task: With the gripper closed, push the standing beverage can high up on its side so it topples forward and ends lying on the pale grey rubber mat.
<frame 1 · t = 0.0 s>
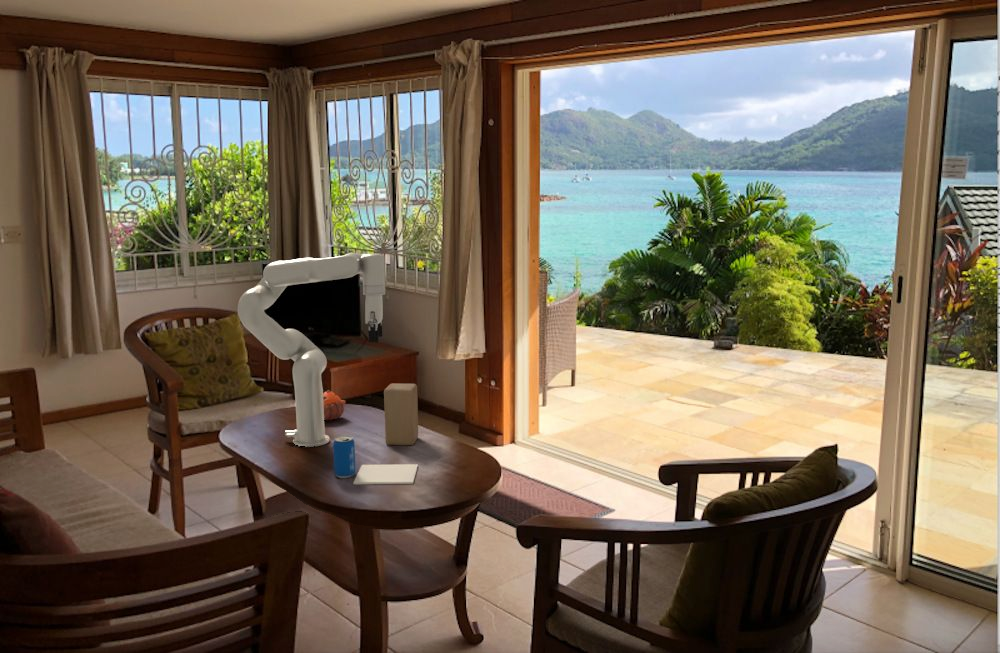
hand: (375, 339, 288), 37 cm above the table, tool pointing down, fingers open, 9 cm apart
beverage can: (345, 475, 261), on the table
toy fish: (330, 420, 322), on the table
wooden block: (402, 442, 294), on the table
mat: (386, 474, 261), on the table
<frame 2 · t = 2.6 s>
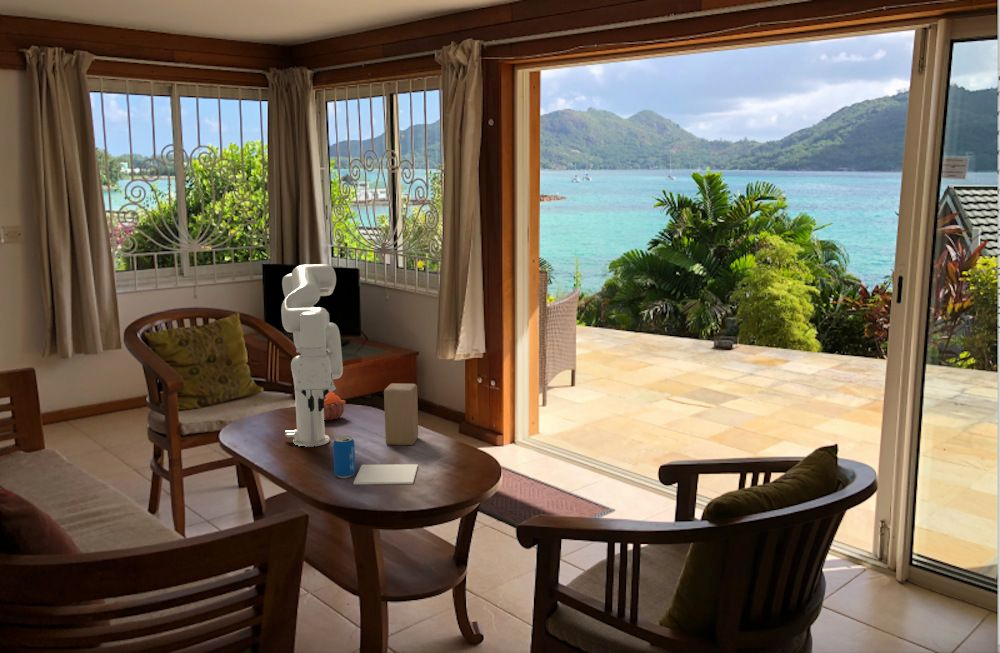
hand: (316, 409, 257), 21 cm above the table, tool pointing down, fingers closed
nothing on the table moved.
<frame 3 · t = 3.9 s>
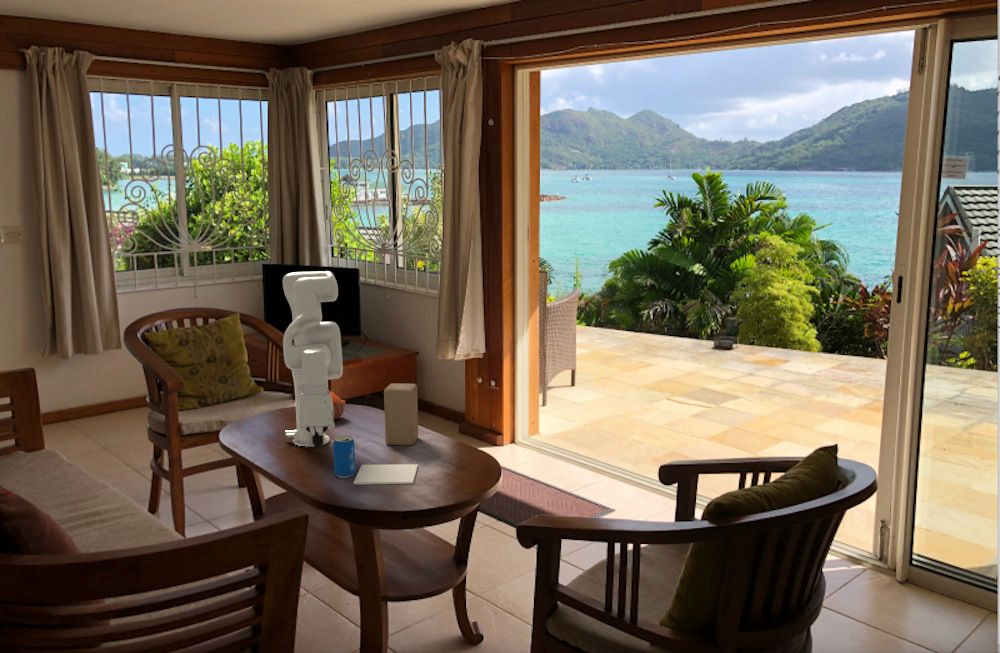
hand: (318, 446, 259), 9 cm above the table, tool pointing down, fingers closed
nothing on the table moved.
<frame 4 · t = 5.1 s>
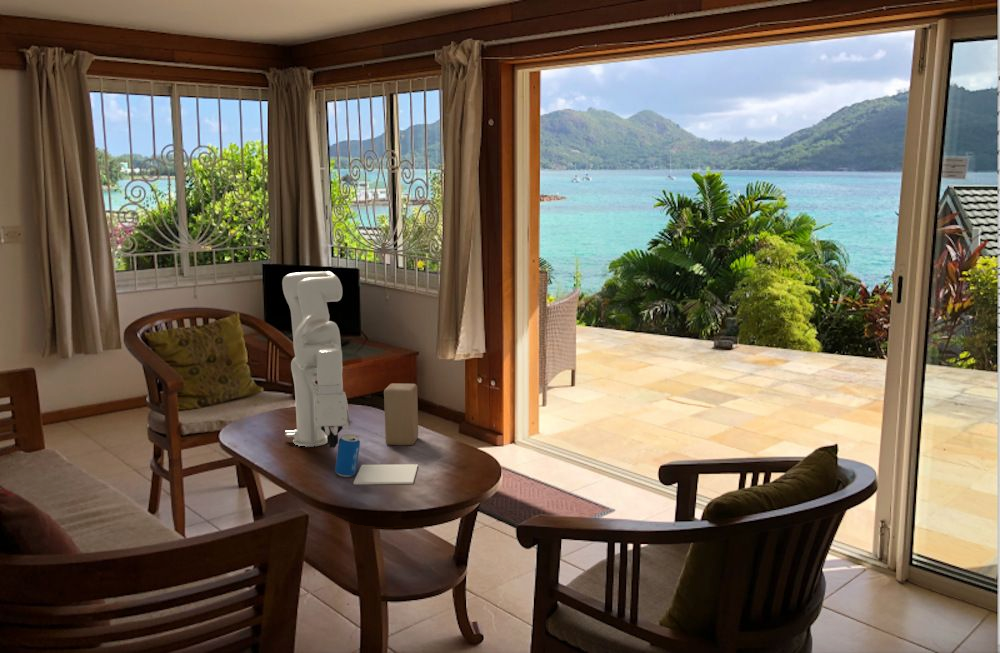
hand: (333, 446, 259), 10 cm above the table, tool pointing down, fingers closed
beverage can: (345, 474, 261), on the table, touching gripper
everything else where it was.
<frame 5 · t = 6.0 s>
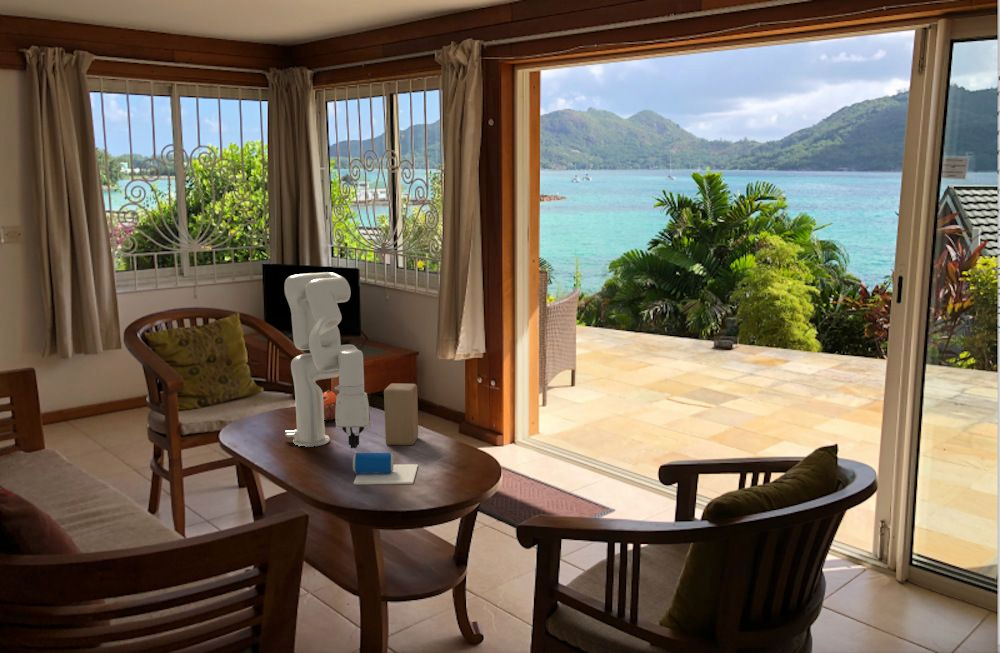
hand: (354, 446, 259), 9 cm above the table, tool pointing down, fingers closed
beverage can: (353, 463, 260), point 4 cm above the table, touching mat
everything else where it was.
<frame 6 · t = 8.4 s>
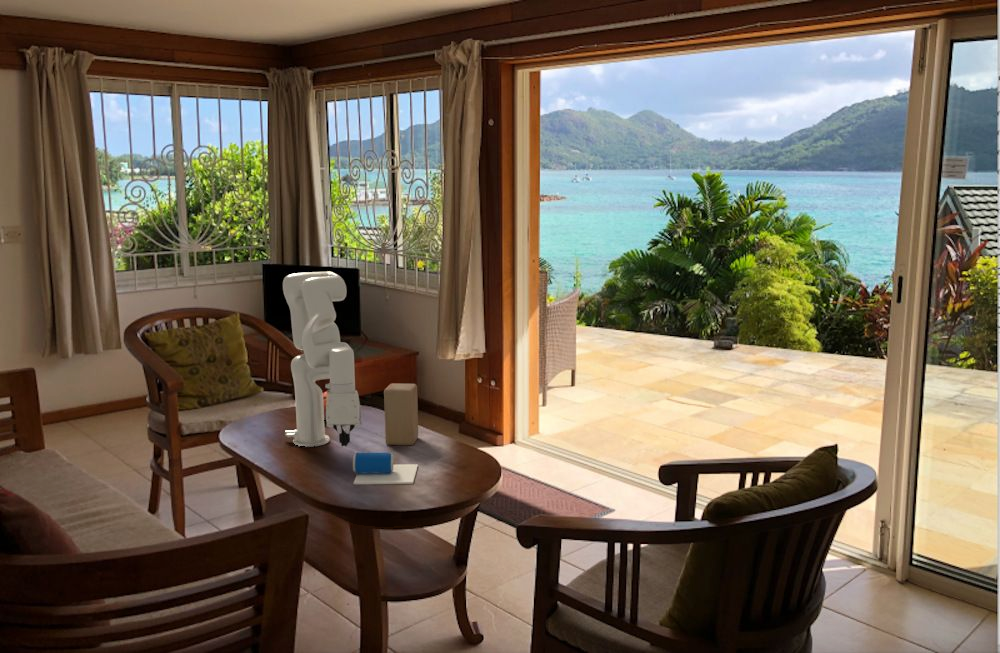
hand: (344, 444, 259), 10 cm above the table, tool pointing down, fingers closed
nothing on the table moved.
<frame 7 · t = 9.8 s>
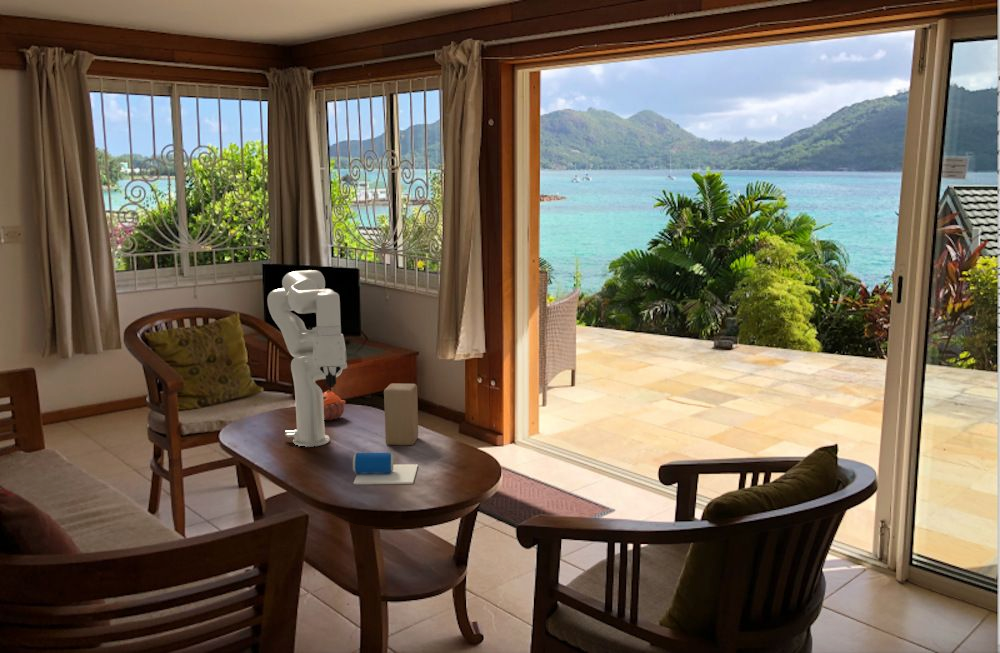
hand: (331, 386, 270), 25 cm above the table, tool pointing down, fingers closed
nothing on the table moved.
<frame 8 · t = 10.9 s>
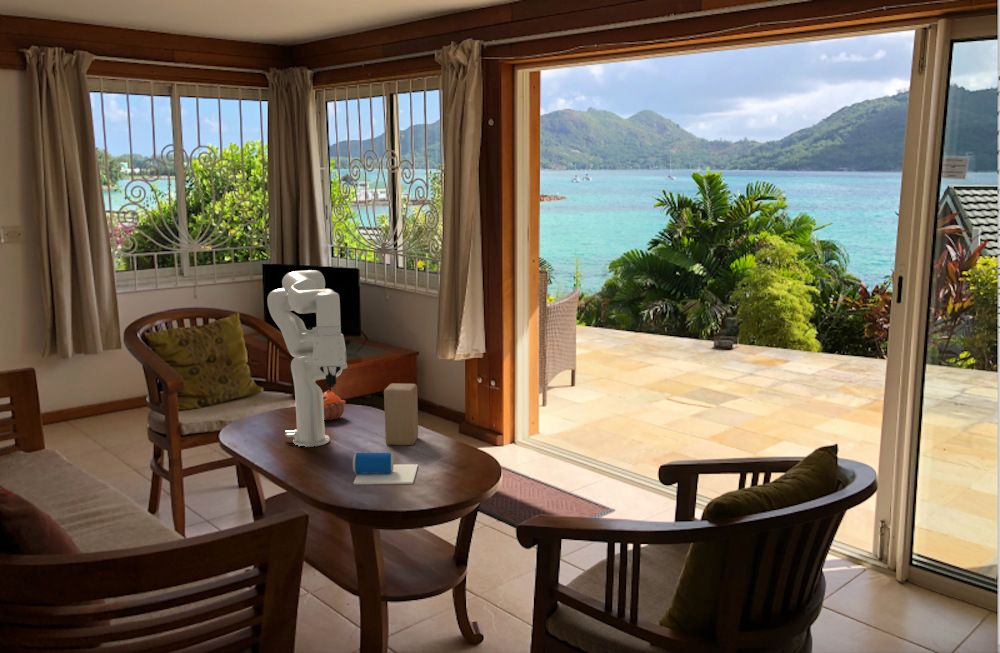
hand: (331, 386, 270), 25 cm above the table, tool pointing down, fingers closed
nothing on the table moved.
at the end: beverage can tilted 90°; beverage can touching mat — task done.
